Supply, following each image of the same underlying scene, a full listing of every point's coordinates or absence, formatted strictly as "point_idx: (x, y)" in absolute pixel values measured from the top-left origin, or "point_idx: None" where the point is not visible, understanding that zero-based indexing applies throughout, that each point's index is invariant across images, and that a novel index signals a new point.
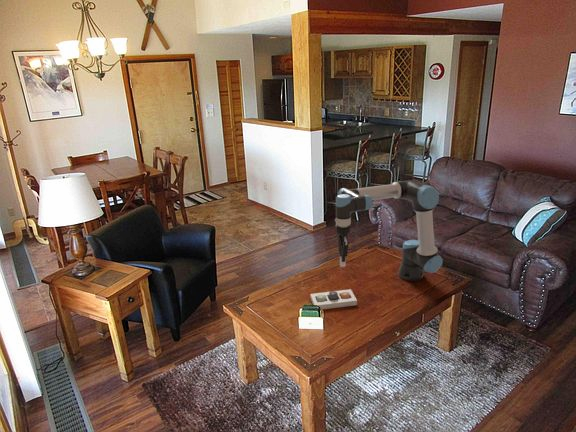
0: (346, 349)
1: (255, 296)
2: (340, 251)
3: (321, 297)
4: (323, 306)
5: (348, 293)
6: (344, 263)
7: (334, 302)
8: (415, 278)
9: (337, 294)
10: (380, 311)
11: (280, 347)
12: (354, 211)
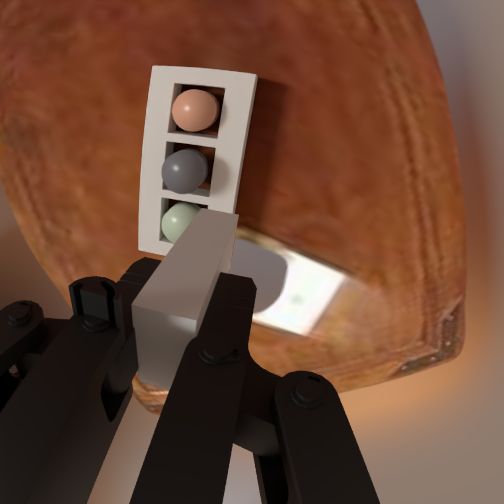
0: (461, 254)
1: None
2: (114, 431)
3: (183, 227)
4: None
5: (193, 93)
6: (228, 250)
7: (231, 182)
8: None
9: (194, 156)
10: (341, 15)
11: (352, 387)
12: None
